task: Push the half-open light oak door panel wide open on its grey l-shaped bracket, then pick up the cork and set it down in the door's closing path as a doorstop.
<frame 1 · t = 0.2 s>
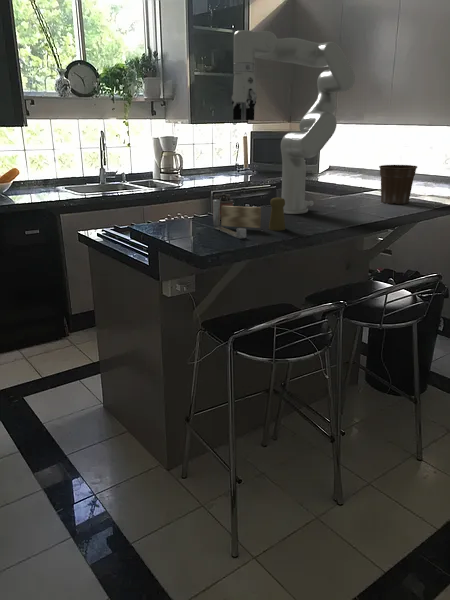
hand: (243, 119, 190), 36 cm above the countertop, tool pointing down, fingers open, 9 cm apart
plant pot: (394, 202, 234), on the countertop
cork: (276, 229, 183), on the countertop
door: (241, 216, 182), point 5 cm above the countertop, hinge at 45.0°
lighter: (222, 220, 199), on the countertop
grey l-shaped bracket: (216, 227, 185), on the countertop
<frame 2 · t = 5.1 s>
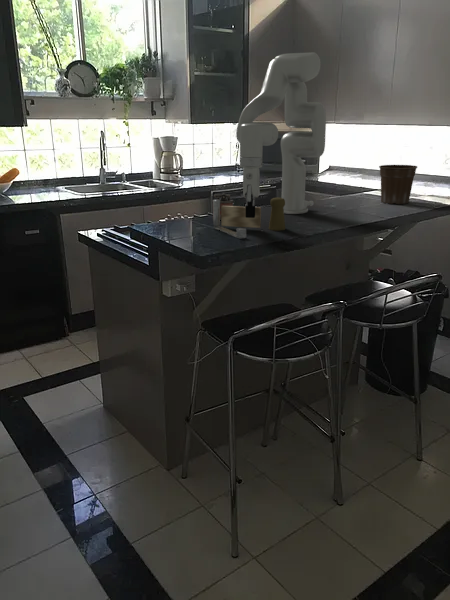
hand: (250, 217, 177), 5 cm above the countertop, tool pointing down, fingers closed
door: (241, 216, 182), point 4 cm above the countertop, hinge at 45.4°, touching gripper
everything else where it was.
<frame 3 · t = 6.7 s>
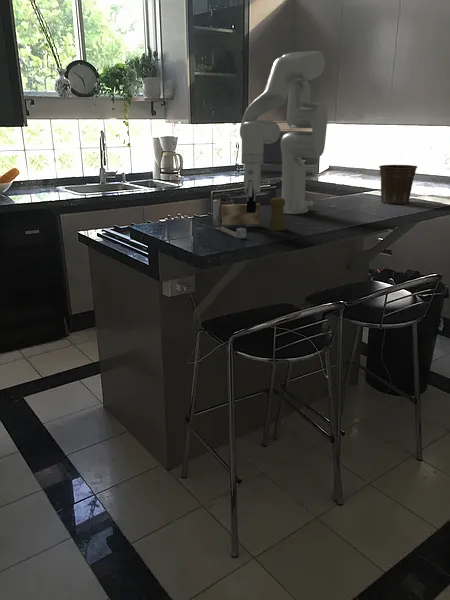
hand: (251, 212, 183), 6 cm above the countertop, tool pointing down, fingers closed
door: (240, 214, 186), point 4 cm above the countertop, hinge at 73.5°, touching gripper
everything else where it was.
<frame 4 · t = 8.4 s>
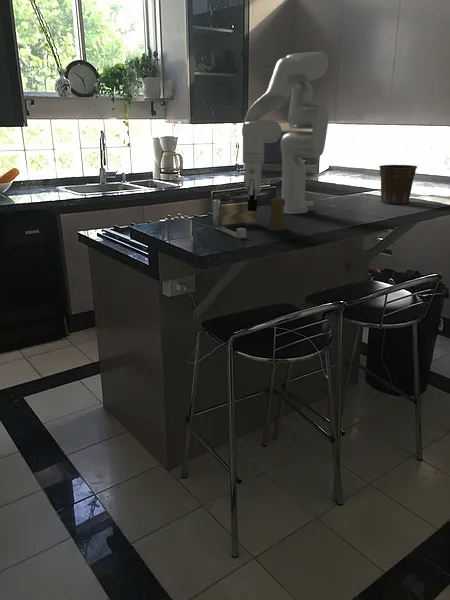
hand: (252, 210, 186), 6 cm above the countertop, tool pointing down, fingers closed
door: (237, 212, 188), point 4 cm above the countertop, hinge at 88.0°, touching gripper
everything else where it was.
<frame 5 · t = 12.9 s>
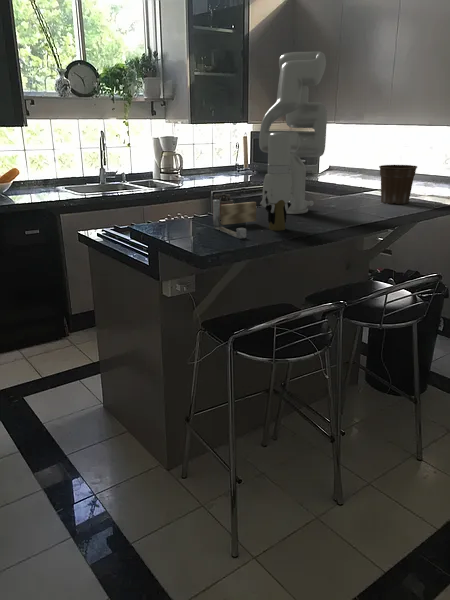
hand: (277, 222, 183), 2 cm above the countertop, tool pointing down, fingers closed on cork, 4 cm apart
cork: (276, 229, 183), on the countertop, touching gripper
door: (237, 212, 188), point 4 cm above the countertop, hinge at 88.8°
everything else where it was.
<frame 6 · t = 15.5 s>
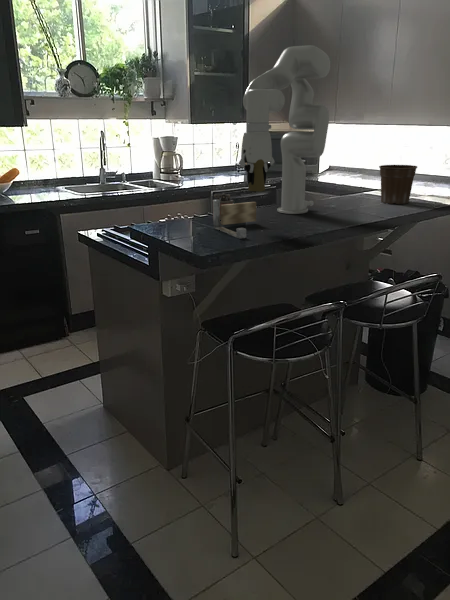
hand: (256, 183, 179), 16 cm above the countertop, tool pointing down, fingers closed on cork, 4 cm apart
cork: (256, 190, 180), point 13 cm above the countertop, touching gripper
everything else where it was.
when the fingers open (3 cm above the countertop, at t = 18.0 s): cork stays where it is, on the countertop.
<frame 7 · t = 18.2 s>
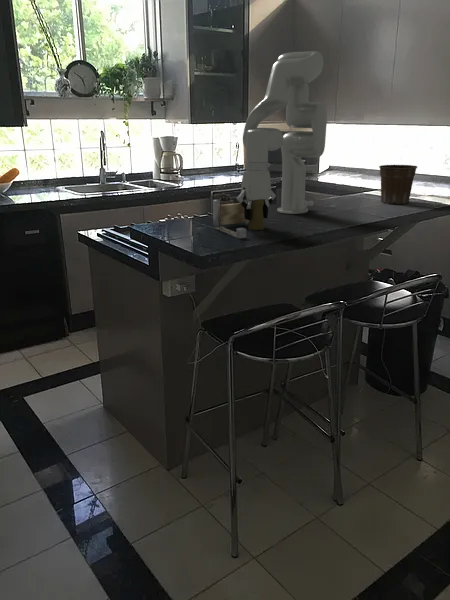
hand: (256, 218, 183), 4 cm above the countertop, tool pointing down, fingers open, 6 cm apart
cork: (256, 228, 185), on the countertop
everything else where it was.
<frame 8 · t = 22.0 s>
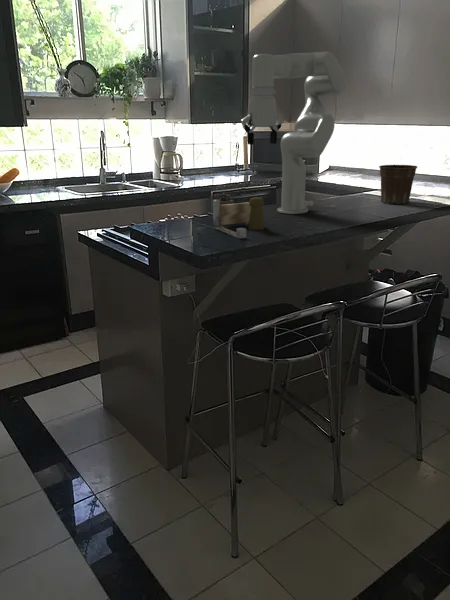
hand: (262, 143, 186), 28 cm above the countertop, tool pointing down, fingers open, 9 cm apart
nothing on the countertop moved.
at the end: door at +89° (first picture: +45°); cork inside the target area (0.2 cm from its centre), on the countertop; cork tilted 0° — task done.
